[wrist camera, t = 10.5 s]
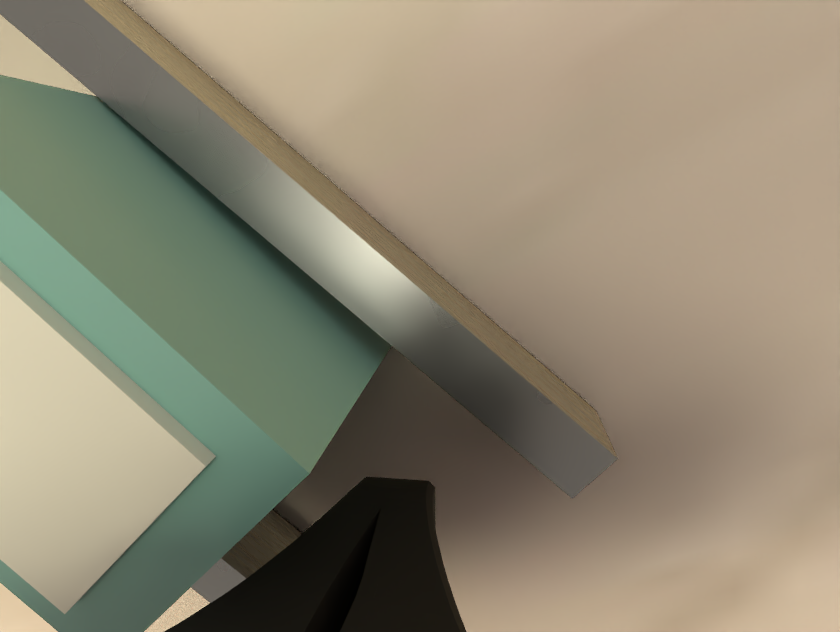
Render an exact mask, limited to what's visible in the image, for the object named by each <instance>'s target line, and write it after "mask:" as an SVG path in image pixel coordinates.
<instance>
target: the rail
mask: <svg viewBox="0 0 840 632" xmlns="http://www.w3.org/2000/svg"><path fill="white" fill-rule="evenodd" d="M0 14H1V15H2V16H3V17H4V18H5V19H7V20H8V21H9V22H10V23H11V24H12V25H14V26H15V27H16V28H17V29H18V30H20V31H21V32H22V33H23V34H24V35H25V36H27V37H28V38H29V39H30V40H31V41H33V42H34V43H35V44H36V45H37V46H38V47H40V48H41V49H42V50H43V51H44V52H46V53H47V54H48V55H49V56H50V57H51V58H53V59H54V60H55V61H56V62H57V63H59V64H60V65H61V66H62V67H63V68H64V69H66V70H67V71H68V72H69V73H70V74H71V75H73V76H74V77H75V78H76V79H77V80H79V81H80V82H81V83H82V84H83V85H84V86H86V87H87V88H88V89H89V90H90V91H92V92H93V93H94V94H95V95H96V96H97V97H99V98H100V99H101V100H102V101H103V102H105V103H106V104H107V105H108V106H109V107H110V108H112V109H113V110H114V111H115V112H116V113H118V114H119V115H120V116H121V117H122V118H123V119H125V120H126V121H127V122H128V123H129V124H131V125H132V126H133V127H134V128H135V129H136V130H138V131H139V132H140V133H141V134H142V135H144V136H145V137H146V138H147V139H148V140H149V141H151V142H152V143H153V144H154V145H155V146H156V147H158V148H159V149H160V150H161V151H162V152H164V153H165V154H166V155H167V156H168V157H169V158H171V159H172V160H173V161H174V162H175V163H177V164H178V165H179V166H180V167H181V168H182V169H184V170H185V171H186V172H187V173H188V174H190V175H191V176H192V177H193V178H194V179H195V180H197V181H198V182H199V183H200V184H201V185H203V186H204V187H205V188H206V189H207V190H208V191H210V192H211V193H212V194H213V195H214V196H216V197H217V198H218V199H219V200H220V201H221V202H223V203H224V204H225V205H226V206H227V207H229V208H230V209H231V210H232V211H233V212H234V213H236V214H237V215H238V216H239V217H240V218H241V219H243V220H244V221H245V222H246V223H247V224H249V225H250V226H251V227H252V228H253V229H254V230H256V231H257V232H258V233H259V234H260V235H262V236H263V237H264V238H265V239H266V240H267V241H269V242H270V243H271V244H272V245H273V246H275V247H276V248H277V249H278V250H279V251H280V252H282V253H283V254H284V255H285V256H286V257H288V258H289V259H290V260H291V261H292V262H293V263H295V264H296V265H297V266H298V267H299V268H301V269H302V270H303V271H304V272H305V273H306V274H308V275H309V276H310V277H311V278H312V279H314V280H315V281H316V282H317V283H318V284H319V285H321V286H322V287H323V288H324V289H325V290H326V291H328V292H329V293H330V294H331V295H332V296H334V297H335V298H336V299H337V300H338V301H339V302H341V303H342V304H343V305H344V306H345V307H347V308H348V309H349V310H350V311H351V312H352V313H354V314H355V315H356V316H357V317H358V318H360V319H361V320H362V321H363V322H364V323H365V324H367V325H368V326H369V327H370V328H371V329H373V330H374V331H375V332H376V333H377V334H378V335H380V336H381V337H382V338H383V339H384V340H386V341H387V342H388V343H389V344H390V345H391V346H393V347H394V348H395V349H396V350H397V351H399V352H400V353H401V354H402V355H403V356H404V357H406V358H407V359H408V360H409V361H410V362H411V363H413V364H414V365H415V366H416V367H417V368H419V369H420V370H421V371H422V372H423V373H424V374H426V375H427V376H428V377H429V378H430V379H432V380H433V381H434V382H435V383H436V384H437V385H439V386H440V387H441V388H442V389H443V390H445V391H446V392H447V393H448V394H449V395H450V396H452V397H453V398H454V399H455V400H456V401H458V402H459V403H460V404H461V405H462V406H463V407H465V408H466V409H467V410H468V411H469V412H471V413H472V414H473V415H474V416H475V417H476V418H478V419H479V420H480V421H481V422H482V423H484V424H485V425H486V426H487V427H488V428H489V429H491V430H492V431H493V432H494V433H495V434H497V435H498V436H499V437H500V438H501V439H502V440H504V441H505V442H506V443H507V444H508V445H509V446H511V447H512V448H513V449H514V450H515V451H517V452H518V453H519V454H520V455H521V456H522V457H524V458H525V459H526V460H527V461H528V462H530V463H531V464H532V465H533V466H534V467H535V468H537V469H538V470H539V471H540V472H541V473H543V474H544V475H545V476H546V477H547V478H548V479H550V480H551V481H552V482H553V483H554V484H556V485H557V486H558V487H559V488H560V489H561V490H563V491H564V492H565V493H566V494H567V495H569V496H570V497H571V498H572V499H573V498H574V497H575V496H576V495H577V494H578V493H579V492H581V491H582V490H583V489H584V488H585V487H586V486H587V485H589V484H590V483H591V482H592V481H593V480H594V479H595V478H597V477H598V476H599V475H600V474H601V473H602V472H603V471H605V470H606V469H607V468H608V467H609V466H610V465H611V464H613V463H614V462H615V461H616V460H617V459H618V457H617V455H616V453H615V451H614V449H613V446H612V444H611V442H610V440H609V438H608V435H607V433H606V431H605V429H604V427H603V424H602V422H601V420H600V418H599V416H598V413H597V411H596V410H595V409H594V408H593V407H591V406H590V405H589V404H588V403H587V402H586V401H584V400H583V399H582V398H581V397H580V396H579V395H578V394H576V393H575V392H574V391H573V390H572V389H571V388H569V387H568V386H567V385H566V384H565V383H564V382H562V381H561V380H560V379H559V378H558V377H557V376H555V375H554V374H553V373H552V372H551V371H550V370H549V369H547V368H546V367H545V366H544V365H543V364H542V363H540V362H539V361H538V360H537V359H536V358H535V357H533V356H532V355H531V354H530V353H529V352H528V351H526V350H525V349H524V348H523V347H522V346H521V345H520V344H518V343H517V342H516V341H515V340H514V339H513V338H511V337H510V336H509V335H508V334H507V333H506V332H504V331H503V330H502V329H501V328H500V327H499V326H498V325H496V324H495V323H494V322H493V321H492V320H491V319H489V318H488V317H487V316H486V315H485V314H484V313H482V312H481V311H480V310H479V309H478V308H477V307H475V306H474V305H473V304H472V303H471V302H470V301H469V300H467V299H466V298H465V297H464V296H463V295H462V294H460V293H459V292H458V291H457V290H456V289H455V288H453V287H452V286H451V285H450V284H449V283H448V282H446V281H445V280H444V279H443V278H442V277H441V276H440V275H438V274H437V273H436V272H435V271H434V270H433V269H431V268H430V267H429V266H428V265H427V264H426V263H424V262H423V261H422V260H421V259H420V258H419V257H417V256H416V255H415V254H414V253H413V252H412V251H411V250H409V249H408V248H407V247H406V246H405V245H404V244H402V243H401V242H400V241H399V240H398V239H397V238H395V237H394V236H393V235H392V234H391V233H390V232H389V231H387V230H386V229H385V228H384V227H383V226H382V225H380V224H379V223H378V222H377V221H376V220H375V219H373V218H372V217H371V216H370V215H369V214H368V213H366V212H365V211H364V210H363V209H362V208H361V207H360V206H358V205H357V204H356V203H355V202H354V201H353V200H351V199H350V198H349V197H348V196H347V195H346V194H344V193H343V192H342V191H341V190H340V189H339V188H337V187H336V186H335V185H334V184H333V183H332V182H331V181H329V180H328V179H327V178H326V177H325V176H324V175H322V174H321V173H320V172H319V171H318V170H317V169H315V168H314V167H313V166H312V165H311V164H310V163H309V162H307V161H306V160H305V159H304V158H303V157H302V156H300V155H299V154H298V153H297V152H296V151H295V150H293V149H292V148H291V147H290V146H289V145H288V144H286V143H285V142H284V141H283V140H282V139H281V138H280V137H278V136H277V135H276V134H275V133H274V132H273V131H271V130H270V129H269V128H268V127H267V126H266V125H264V124H263V123H262V122H261V121H260V120H259V119H257V118H256V117H255V116H254V115H253V114H252V113H251V112H249V111H248V110H247V109H246V108H245V107H244V106H242V105H241V104H240V103H239V102H238V101H237V100H235V99H234V98H233V97H232V96H231V95H230V94H228V93H227V92H226V91H225V90H224V89H223V88H222V87H220V86H219V85H218V84H217V83H216V82H215V81H213V80H212V79H211V78H210V77H209V76H208V75H206V74H205V73H204V72H203V71H202V70H201V69H200V68H198V67H197V66H196V65H195V64H194V63H193V62H191V61H190V60H189V59H188V58H187V57H186V56H184V55H183V54H182V53H181V52H180V51H179V50H177V49H176V48H175V47H174V46H173V45H172V44H171V43H169V42H168V41H167V40H166V39H165V38H164V37H162V36H161V35H160V34H159V33H158V32H157V31H155V30H154V29H153V28H152V27H151V26H150V25H148V24H147V23H146V22H145V21H144V20H143V19H142V18H140V17H139V16H138V15H137V14H136V13H135V12H133V11H132V10H131V9H130V8H129V7H128V6H126V5H125V4H124V3H123V2H122V1H121V0H0ZM301 535H302V533H301V532H299V531H298V530H297V529H296V528H294V527H293V526H292V525H291V524H290V523H288V522H287V521H286V520H285V519H283V518H282V517H281V516H280V515H278V514H277V513H276V512H275V511H273V510H271V511H270V512H269V513H268V514H267V515H266V516H265V517H264V518H263V519H262V520H261V521H259V522H258V523H257V524H256V525H255V526H254V527H253V528H252V529H251V530H250V531H249V532H248V533H247V534H246V535H245V536H244V537H243V538H242V539H241V540H240V541H238V542H237V543H236V544H235V545H234V546H233V547H232V548H231V549H230V550H229V551H228V552H227V553H226V554H225V555H224V556H223V557H222V558H221V559H220V560H219V561H217V562H216V563H215V564H214V565H213V566H212V567H211V568H210V569H209V570H208V571H207V572H206V573H205V574H204V575H203V576H202V577H201V578H200V579H199V580H198V581H196V582H195V583H194V584H193V585H192V586H191V588H192V589H194V590H195V591H196V592H197V593H199V594H200V595H201V596H203V597H204V598H205V599H206V600H208V601H209V602H210V603H211V602H213V601H214V600H216V599H218V598H219V597H221V596H222V595H224V594H225V593H226V592H228V591H229V590H231V589H232V588H234V587H235V586H237V585H238V584H239V583H241V582H242V581H244V580H245V579H246V578H248V577H249V576H250V575H252V574H253V573H254V572H256V571H257V570H258V569H259V568H261V567H262V566H263V565H265V564H266V563H267V562H268V561H270V560H271V559H272V558H273V557H275V556H276V555H277V554H279V553H280V552H281V551H282V550H284V549H285V548H286V547H287V546H289V545H290V544H291V543H292V542H294V541H295V540H296V539H297V538H298V537H299V536H301Z"/></svg>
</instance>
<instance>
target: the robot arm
mask: <svg viewBox="0 0 840 632" xmlns="http://www.w3.org/2000/svg"><path fill="white" fill-rule="evenodd" d="M165 632H466V630H465V627H464V625H463V622H462V619H461V617H460V614H459V611H458V609H457V606H456V603H455V600H454V597H453V594H452V591H451V588H450V585H449V582H448V579H447V575H446V572H445V568H444V565H443V561H442V557H441V553H440V548H439V544H438V540H437V535H436V530H435V487H434V486H433V485H432V483H431V482H430V481H422V480H407V479H392V478H377V477H366V478H364V479H363V480H362V481H361V482H360V483H359V484H358V485H356V486H355V487H354V488H353V489H352V490H351V491H350V492H349V493H347V494H346V495H345V496H344V497H343V498H342V499H341V500H340V501H339V502H338V503H337V504H336V505H334V506H333V507H332V508H331V509H330V510H329V511H328V512H327V513H326V514H325V515H323V516H322V517H321V518H320V519H319V520H318V521H317V522H316V523H314V524H313V525H312V526H311V527H310V528H309V529H307V530H306V531H305V532H304V533H303V534H302V535H301V536H299V537H298V538H297V539H296V540H295V541H294V542H292V543H291V544H290V545H289V546H287V547H286V548H285V549H284V550H282V551H281V552H280V553H279V554H277V555H276V556H275V557H273V558H272V559H271V560H270V561H268V562H267V563H266V564H265V565H263V566H262V567H261V568H259V569H258V570H257V571H256V572H254V573H253V574H252V575H250V576H249V577H248V578H246V579H245V580H244V581H242V582H241V583H239V584H238V585H237V586H235V587H234V588H232V589H231V590H229V591H228V592H226V593H225V594H224V595H222V596H221V597H219V598H218V599H216V600H214V601H213V602H211V603H210V604H208V605H207V606H205V607H204V608H202V609H201V610H199V611H198V612H196V613H195V614H193V615H191V616H190V617H188V618H187V619H185V620H183V621H182V622H180V623H179V624H177V625H175V626H174V627H172V628H170V629H168V630H166V631H165Z"/></svg>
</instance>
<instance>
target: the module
mask: <svg viewBox="0 0 840 632" xmlns="http://www.w3.org/2000/svg"><path fill="white" fill-rule="evenodd" d="M390 348H391V345H390V344H389V343H388V342H387V341H386V340H384V339H383V338H382V337H381V336H380V335H378V334H377V333H376V332H375V331H374V330H373V329H371V328H370V327H369V326H368V325H367V324H365V323H364V322H363V321H362V320H361V319H360V318H358V317H357V316H356V315H355V314H354V313H352V312H351V311H350V310H349V309H348V308H347V307H345V306H344V305H343V304H342V303H341V302H339V301H338V300H337V299H336V298H335V297H334V296H332V295H331V294H330V293H329V292H328V291H326V290H325V289H324V288H323V287H322V286H321V285H319V284H318V283H317V282H316V281H315V280H314V279H312V278H311V277H310V276H309V275H308V274H306V273H305V272H304V271H303V270H302V269H301V268H299V267H298V266H297V265H296V264H295V263H293V262H292V261H291V260H290V259H289V258H288V257H286V256H285V255H284V254H283V253H282V252H280V251H279V250H278V249H277V248H276V247H275V246H273V245H272V244H271V243H270V242H269V241H267V240H266V239H265V238H264V237H263V236H262V235H260V234H259V233H258V232H257V231H256V230H254V229H253V228H252V227H251V226H250V225H249V224H247V223H246V222H245V221H244V220H243V219H241V218H240V217H239V216H238V215H237V214H236V213H234V212H233V211H232V210H231V209H230V208H229V207H227V206H226V205H225V204H224V203H223V202H221V201H220V200H219V199H218V198H217V197H216V196H214V195H213V194H212V193H211V192H210V191H208V190H207V189H206V188H205V187H204V186H203V185H201V184H200V183H199V182H198V181H197V180H195V179H194V178H193V177H192V176H191V175H190V174H188V173H187V172H186V171H185V170H184V169H182V168H181V167H180V166H179V165H178V164H177V163H175V162H174V161H173V160H172V159H171V158H169V157H168V156H167V155H166V154H165V153H164V152H162V151H161V150H160V149H159V148H158V147H156V146H155V145H154V144H153V143H152V142H151V141H149V140H148V139H147V138H146V137H145V136H144V135H142V134H141V133H140V132H139V131H138V130H136V129H135V128H134V127H133V126H132V125H131V124H129V123H128V122H127V121H126V120H125V119H123V118H122V117H121V116H120V115H119V114H118V113H116V112H115V111H114V110H113V109H112V108H110V107H109V106H108V105H107V104H106V103H105V102H103V101H102V100H101V99H100V98H99V97H96V96H92V95H87V94H83V93H78V92H74V91H70V90H65V89H61V88H56V87H52V86H47V85H43V84H38V83H34V82H29V81H25V80H21V79H16V78H12V77H7V76H3V75H0V583H1V584H3V585H4V586H5V587H6V588H7V589H9V590H10V591H11V592H12V593H13V594H14V595H16V596H17V597H18V598H19V599H20V600H22V601H23V602H24V603H25V604H26V605H27V606H29V607H30V608H31V609H32V610H33V611H34V612H36V613H37V614H38V615H39V616H40V617H42V618H43V619H44V620H45V621H46V622H47V623H49V624H50V625H51V626H52V627H53V628H55V629H56V630H57V631H58V632H144V631H145V630H146V629H147V628H148V627H149V626H150V625H151V624H152V623H153V622H155V621H156V620H157V619H158V618H159V617H160V616H161V615H162V614H163V613H164V612H165V611H166V610H167V609H168V608H169V607H170V606H171V605H172V604H173V603H174V602H176V601H177V600H178V599H179V598H180V597H181V596H182V595H183V594H184V593H185V592H186V591H187V590H188V589H189V588H190V587H191V586H192V585H193V584H194V583H195V582H196V581H198V580H199V579H200V578H201V577H202V576H203V575H204V574H205V573H206V572H207V571H208V570H209V569H210V568H211V567H212V566H213V565H214V564H215V563H216V562H217V561H219V560H220V559H221V558H222V557H223V556H224V555H225V554H226V553H227V552H228V551H229V550H230V549H231V548H232V547H233V546H234V545H235V544H236V543H237V542H238V541H240V540H241V539H242V538H243V537H244V536H245V535H246V534H247V533H248V532H249V531H250V530H251V529H252V528H253V527H254V526H255V525H256V524H257V523H258V522H259V521H261V520H262V519H263V518H264V517H265V516H266V515H267V514H268V513H269V512H270V511H271V510H272V509H273V508H274V507H275V506H276V505H277V504H278V503H279V502H280V501H282V500H283V499H284V498H285V497H286V496H287V495H288V494H289V493H290V492H291V491H292V490H293V489H294V488H295V487H296V486H297V485H298V484H299V483H300V482H301V481H303V480H304V479H305V478H306V477H307V476H308V475H309V474H310V472H311V471H312V469H313V468H314V466H315V465H316V463H317V461H318V460H319V458H320V457H321V455H322V454H323V452H324V451H325V449H326V447H327V446H328V444H329V443H330V441H331V440H332V438H333V437H334V435H335V433H336V432H337V430H338V429H339V427H340V426H341V424H342V423H343V421H344V419H345V418H346V416H347V415H348V413H349V412H350V410H351V409H352V407H353V405H354V404H355V402H356V401H357V399H358V398H359V396H360V395H361V393H362V391H363V390H364V388H365V387H366V385H367V384H368V382H369V381H370V379H371V377H372V376H373V374H374V373H375V371H376V370H377V368H378V366H379V365H380V363H381V362H382V360H383V359H384V357H385V356H386V354H387V352H388V351H389V349H390Z"/></svg>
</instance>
